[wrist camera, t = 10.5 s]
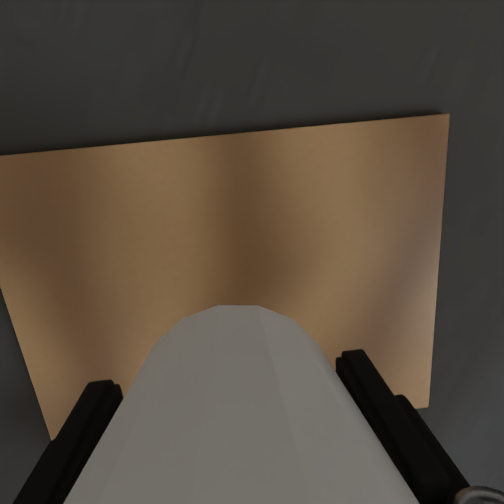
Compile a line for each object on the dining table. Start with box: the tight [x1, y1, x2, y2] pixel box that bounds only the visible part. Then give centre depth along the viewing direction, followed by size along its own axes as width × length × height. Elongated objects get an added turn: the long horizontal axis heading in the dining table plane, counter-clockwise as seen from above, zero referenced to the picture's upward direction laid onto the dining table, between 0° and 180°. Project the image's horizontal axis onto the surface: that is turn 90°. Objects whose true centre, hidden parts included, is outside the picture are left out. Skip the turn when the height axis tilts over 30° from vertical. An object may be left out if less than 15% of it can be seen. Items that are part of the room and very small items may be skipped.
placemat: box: [0, 113, 450, 441], centre depth 16 cm, size 20×15×1 cm
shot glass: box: [63, 305, 419, 504], centre depth 7 cm, size 7×7×7 cm
